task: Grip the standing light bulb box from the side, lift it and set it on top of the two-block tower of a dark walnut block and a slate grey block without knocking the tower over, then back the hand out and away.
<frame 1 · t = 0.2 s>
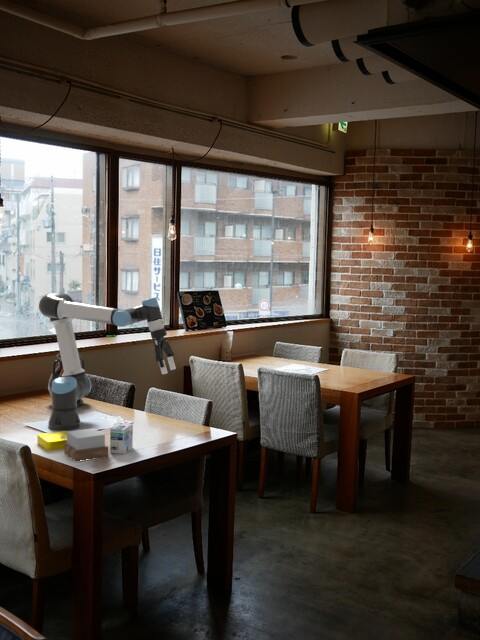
hand: (169, 371, 351), 28 cm above the table, tool tilted 15°, fingers open, 13 cm apart
amphora vase: (68, 404, 398), on the table
tower base: (86, 456, 305), on the table, touching tower top
element tile: (58, 446, 319), on the table
tower top: (85, 444, 304), point 5 cm above the table, touching tower base
light bulb box: (121, 450, 313), on the table
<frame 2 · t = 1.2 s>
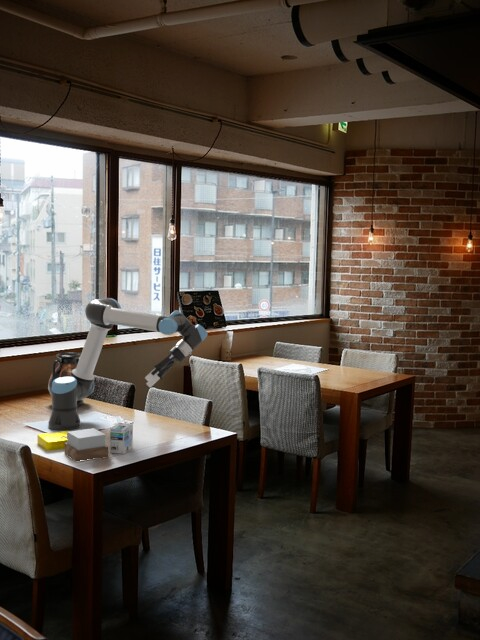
hand: (147, 383, 334), 25 cm above the table, tool tilted 50°, fingers open, 13 cm apart
tower base: (86, 456, 305), on the table
tower top: (86, 444, 304), point 5 cm above the table
everything else where it was.
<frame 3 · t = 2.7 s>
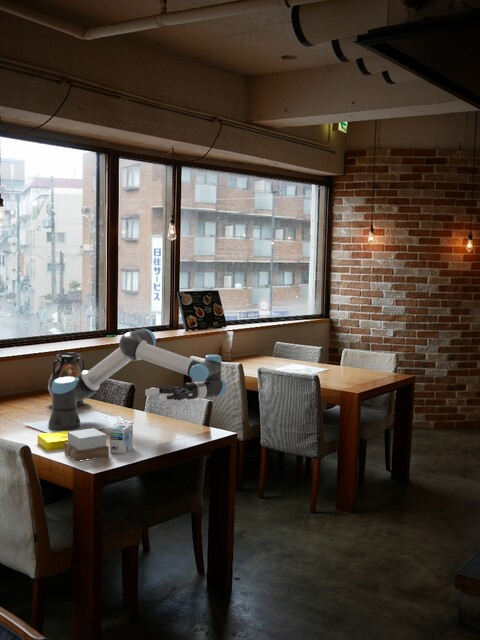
hand: (152, 395, 318), 23 cm above the table, tool horizontal, fingers open, 13 cm apart
tower base: (86, 456, 305), on the table, touching tower top
tower top: (86, 444, 304), point 5 cm above the table, touching tower base
everything else where it was.
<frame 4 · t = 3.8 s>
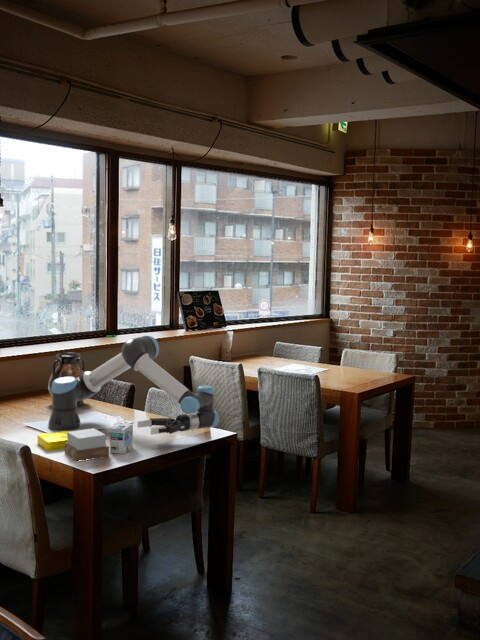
hand: (144, 427, 318), 9 cm above the table, tool horizontal, fingers open, 13 cm apart
tower base: (86, 456, 305), on the table
tower top: (86, 444, 304), point 5 cm above the table
everything else where it was.
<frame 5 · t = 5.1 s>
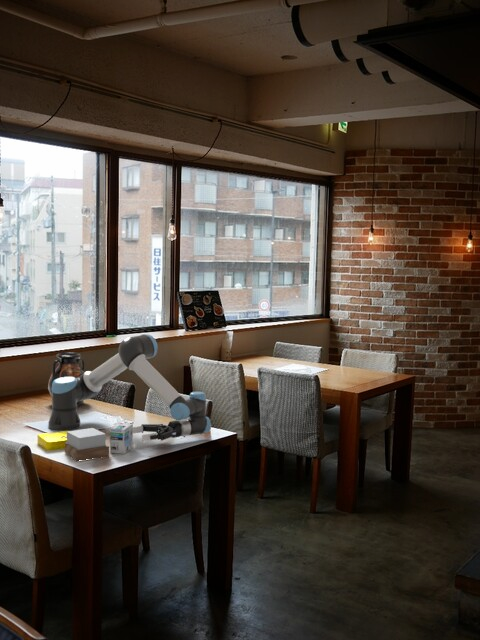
hand: (135, 434, 316), 6 cm above the table, tool horizontal, fingers open, 13 cm apart
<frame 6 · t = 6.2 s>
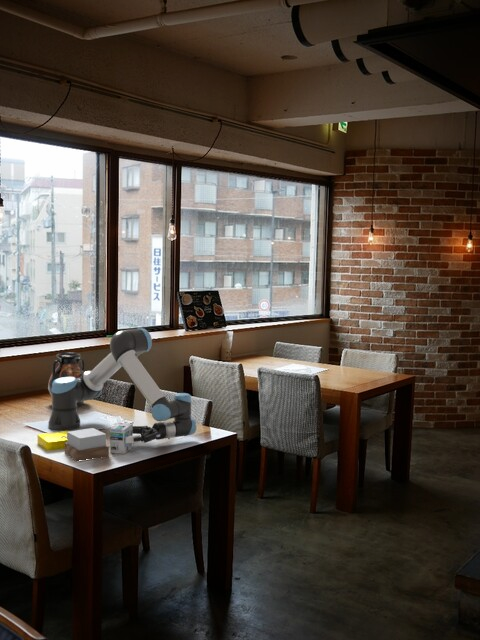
hand: (119, 436, 312), 6 cm above the table, tool horizontal, fingers open, 13 cm apart
tower base: (86, 456, 305), on the table, touching tower top
tower top: (86, 444, 304), point 5 cm above the table, touching tower base
everything else where it was.
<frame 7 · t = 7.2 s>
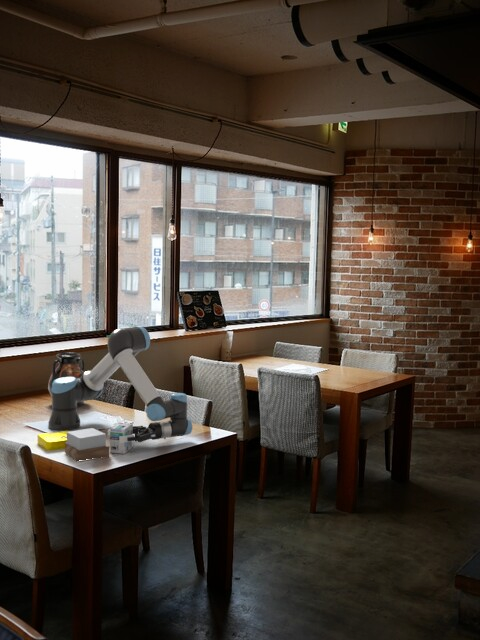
hand: (113, 436, 310), 7 cm above the table, tool horizontal, fingers closed on light bulb box, 12 cm apart
light bulb box: (121, 450, 313), on the table, touching gripper
everything else where it was.
when the fingers open (17 cm above the table, at t = 13.0 s): light bulb box drops 1 cm, resting on tower top.
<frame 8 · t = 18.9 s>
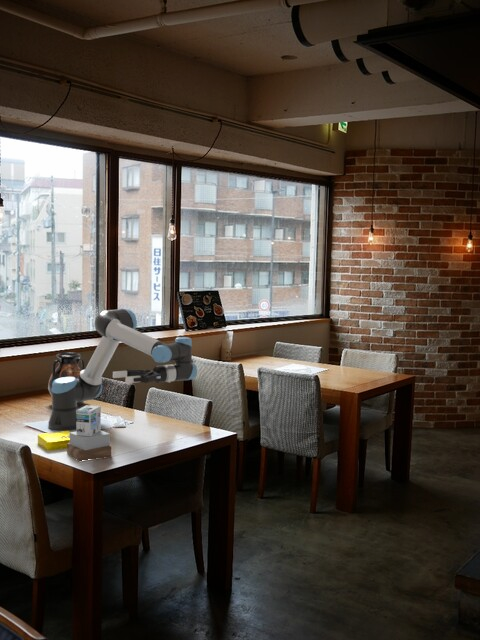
hand: (119, 377, 309), 32 cm above the table, tool horizontal, fingers open, 13 cm apart
tower top: (89, 444, 304), point 4 cm above the table, touching light bulb box, tower base
light bulb box: (88, 433, 304), point 9 cm above the table, touching tower top
at the end: light bulb box inside the target area on the tower top (0.4 cm from its centre), point 4.8 cm above the tower top's base; light bulb box tilted 0°; tower top 0.3 cm from the tower base (horizontally) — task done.
